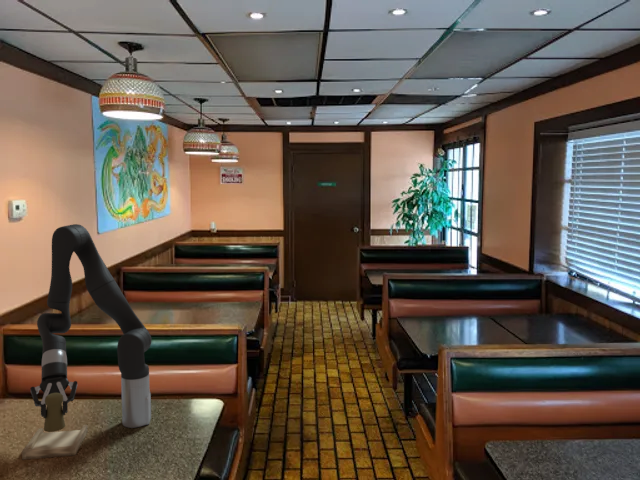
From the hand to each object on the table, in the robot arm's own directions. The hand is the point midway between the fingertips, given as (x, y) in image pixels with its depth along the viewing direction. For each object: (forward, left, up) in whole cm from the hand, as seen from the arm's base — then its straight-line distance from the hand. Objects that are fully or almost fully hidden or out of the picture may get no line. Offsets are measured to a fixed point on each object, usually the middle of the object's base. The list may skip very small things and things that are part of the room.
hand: (54, 415), depth 156 cm
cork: (+1, -2, -5) cm, 5 cm away
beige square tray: (0, -2, -11) cm, 11 cm away
